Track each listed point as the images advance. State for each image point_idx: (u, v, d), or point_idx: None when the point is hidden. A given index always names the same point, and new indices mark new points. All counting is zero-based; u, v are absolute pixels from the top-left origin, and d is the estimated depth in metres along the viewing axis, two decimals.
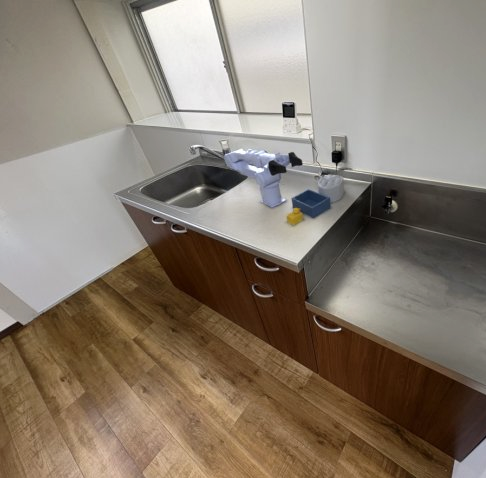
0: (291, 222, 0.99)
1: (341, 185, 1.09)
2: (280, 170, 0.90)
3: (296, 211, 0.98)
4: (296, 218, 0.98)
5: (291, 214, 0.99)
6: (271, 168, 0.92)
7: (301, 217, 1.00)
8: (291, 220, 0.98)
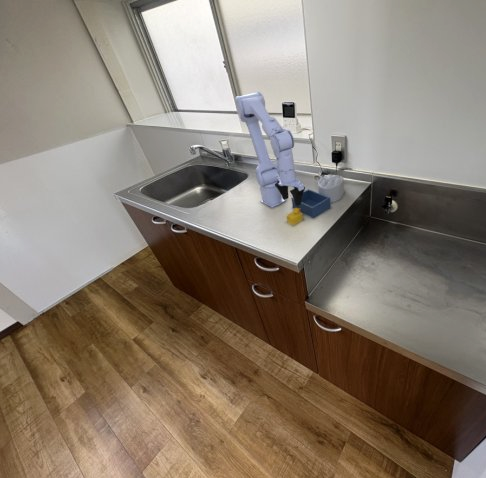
0: (291, 222, 0.99)
1: (341, 185, 1.09)
2: None
3: (296, 211, 0.98)
4: (296, 218, 0.98)
5: (291, 214, 0.99)
6: None
7: (301, 217, 1.00)
8: (291, 220, 0.98)
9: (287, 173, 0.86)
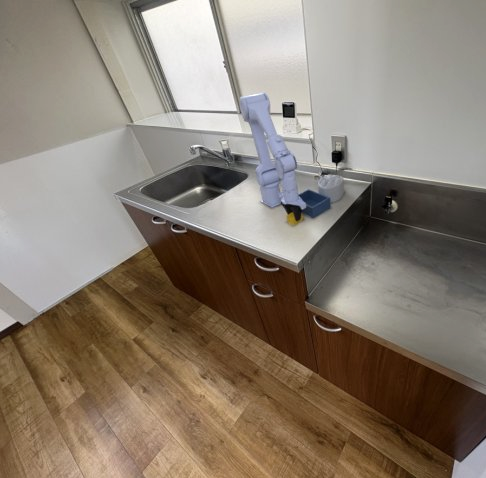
0: (291, 222, 0.99)
1: (341, 185, 1.09)
2: None
3: None
4: None
5: (291, 214, 0.99)
6: None
7: (301, 217, 1.00)
8: (291, 220, 0.98)
9: (290, 192, 0.90)
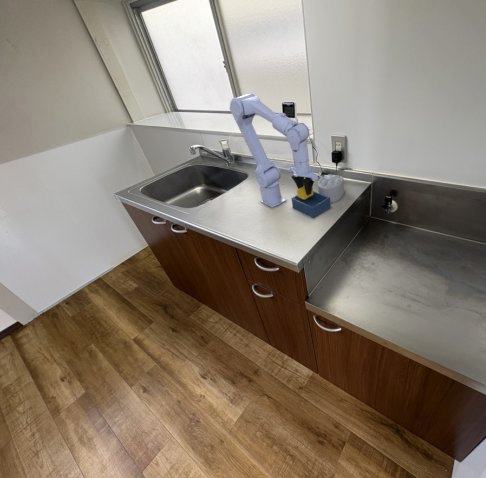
0: (302, 196, 0.99)
1: (341, 185, 1.09)
2: None
3: None
4: None
5: (302, 188, 0.99)
6: None
7: (312, 191, 1.00)
8: (302, 194, 0.98)
9: (302, 164, 0.90)
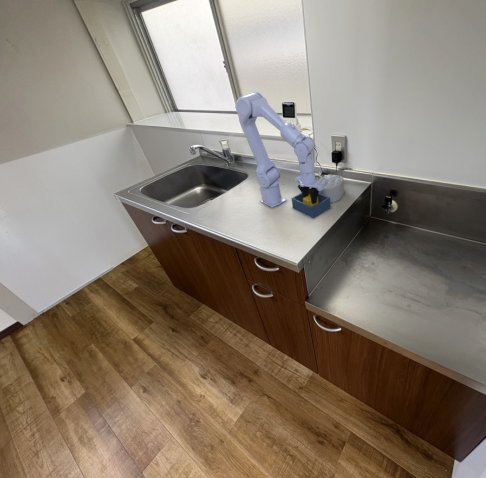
0: None
1: (341, 185, 1.09)
2: None
3: None
4: None
5: (307, 197, 1.04)
6: None
7: (317, 200, 1.05)
8: (308, 203, 1.03)
9: (308, 175, 0.95)
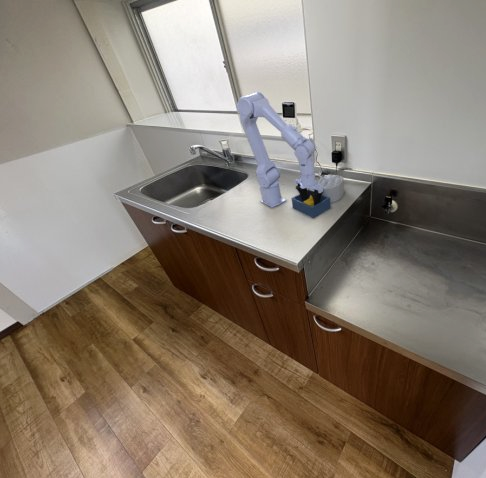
0: None
1: (341, 185, 1.09)
2: None
3: None
4: (313, 204, 1.04)
5: (308, 200, 1.05)
6: None
7: None
8: None
9: (308, 177, 0.96)
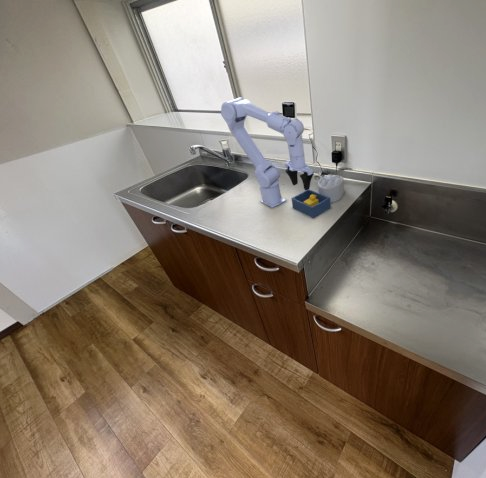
0: None
1: (341, 185, 1.09)
2: None
3: (313, 197, 1.04)
4: (313, 204, 1.04)
5: (308, 200, 1.05)
6: None
7: (317, 203, 1.06)
8: None
9: (297, 159, 0.94)
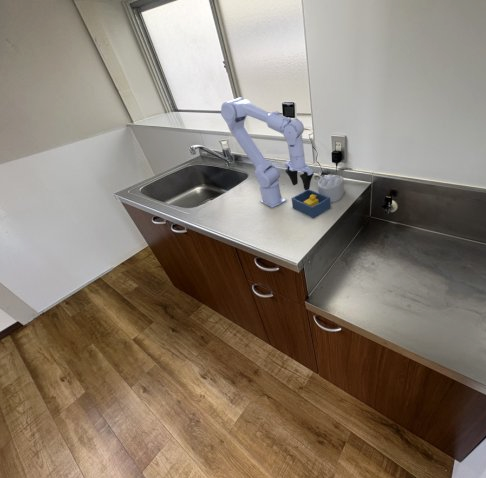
0: None
1: (341, 185, 1.09)
2: None
3: (313, 197, 1.04)
4: (313, 204, 1.04)
5: (308, 200, 1.05)
6: None
7: (317, 203, 1.06)
8: None
9: (297, 159, 0.94)
